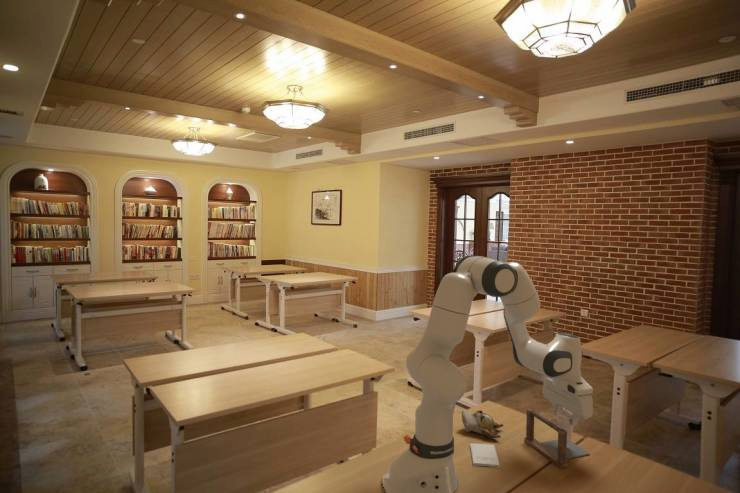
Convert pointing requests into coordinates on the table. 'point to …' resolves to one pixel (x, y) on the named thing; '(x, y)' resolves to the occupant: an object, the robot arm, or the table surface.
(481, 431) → the ceramic sculpture
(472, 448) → the external hard drive
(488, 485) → the table surface
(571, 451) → the mat
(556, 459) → the bar hurdle
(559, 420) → the smoothie
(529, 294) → the robot arm
